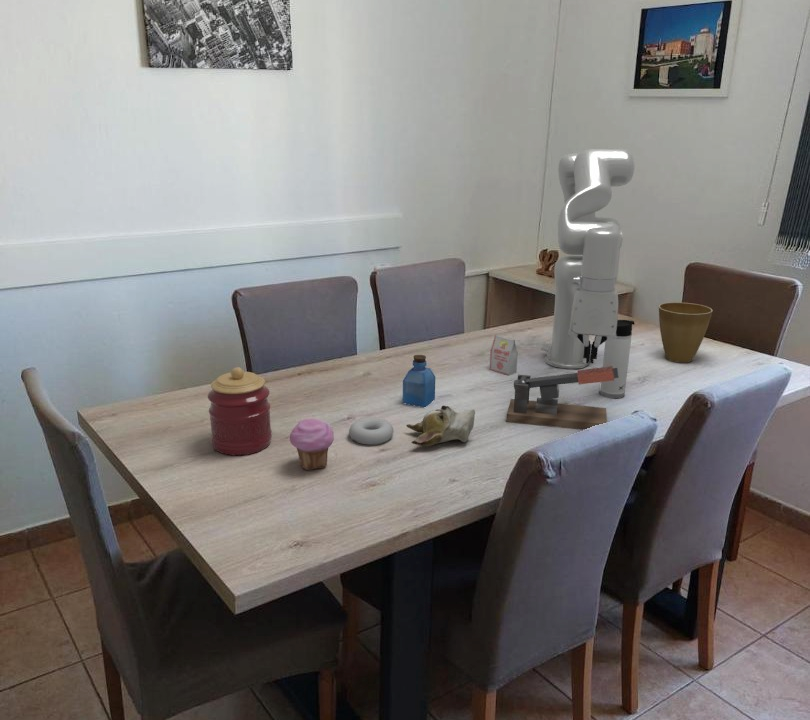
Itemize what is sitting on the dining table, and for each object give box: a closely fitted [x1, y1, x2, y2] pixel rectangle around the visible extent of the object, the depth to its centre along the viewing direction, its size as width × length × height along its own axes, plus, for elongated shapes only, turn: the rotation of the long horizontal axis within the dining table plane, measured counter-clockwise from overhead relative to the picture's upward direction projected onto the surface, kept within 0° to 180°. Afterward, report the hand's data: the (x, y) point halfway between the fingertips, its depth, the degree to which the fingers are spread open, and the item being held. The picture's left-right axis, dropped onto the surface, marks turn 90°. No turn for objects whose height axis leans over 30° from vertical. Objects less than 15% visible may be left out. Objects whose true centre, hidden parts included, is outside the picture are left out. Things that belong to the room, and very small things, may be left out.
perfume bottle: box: [402, 354, 436, 408], centre depth 179 cm, size 6×6×12 cm
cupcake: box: [289, 418, 335, 471], centre depth 146 cm, size 9×9×10 cm
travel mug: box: [599, 319, 635, 399], centre depth 184 cm, size 6×7×20 cm
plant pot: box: [658, 301, 713, 364], centre depth 213 cm, size 15×15×16 cm
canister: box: [207, 366, 273, 456], centre depth 154 cm, size 13×13×18 cm
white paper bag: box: [489, 334, 519, 376], centre depth 202 cm, size 4×7×10 cm, turn 45°
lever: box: [513, 366, 619, 400], centre depth 168 cm, size 24×4×5 cm, turn 76°
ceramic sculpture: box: [406, 405, 476, 447], centre depth 158 cm, size 11×9×15 cm
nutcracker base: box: [505, 374, 608, 430], centre depth 170 cm, size 23×10×9 cm, turn 76°
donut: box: [348, 417, 394, 446], centre depth 160 cm, size 10×4×10 cm
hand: (589, 361), depth 165 cm, fingers closed
